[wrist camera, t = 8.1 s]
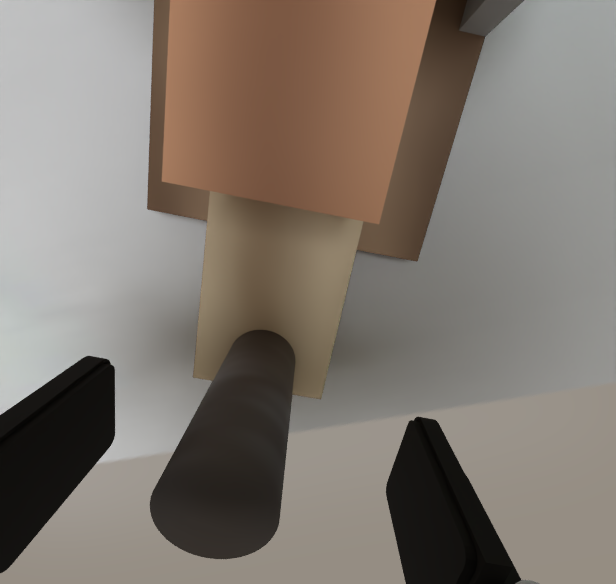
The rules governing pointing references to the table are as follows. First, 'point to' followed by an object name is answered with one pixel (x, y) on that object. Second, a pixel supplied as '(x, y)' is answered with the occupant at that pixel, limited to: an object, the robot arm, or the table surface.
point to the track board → (412, 149)
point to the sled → (273, 226)
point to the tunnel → (485, 15)
